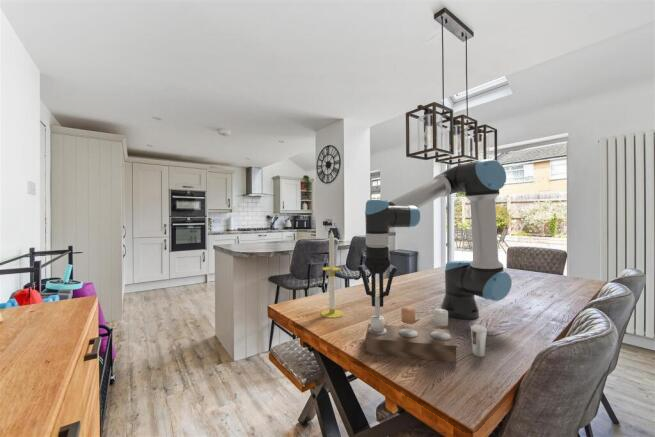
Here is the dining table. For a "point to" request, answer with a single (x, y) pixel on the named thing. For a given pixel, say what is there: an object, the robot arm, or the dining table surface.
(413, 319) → the knob middle
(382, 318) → the knob
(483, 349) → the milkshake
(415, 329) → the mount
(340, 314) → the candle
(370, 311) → the dining table surface
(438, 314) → the knob
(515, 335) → the dining table surface
